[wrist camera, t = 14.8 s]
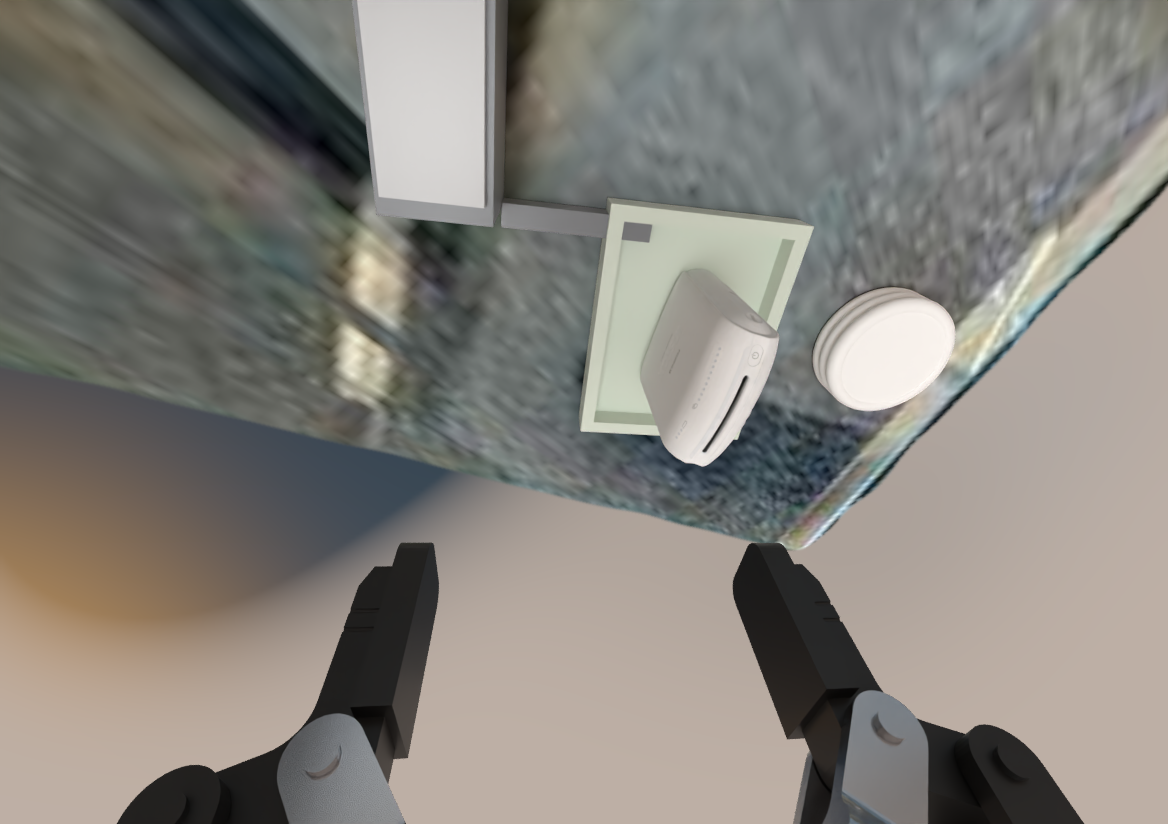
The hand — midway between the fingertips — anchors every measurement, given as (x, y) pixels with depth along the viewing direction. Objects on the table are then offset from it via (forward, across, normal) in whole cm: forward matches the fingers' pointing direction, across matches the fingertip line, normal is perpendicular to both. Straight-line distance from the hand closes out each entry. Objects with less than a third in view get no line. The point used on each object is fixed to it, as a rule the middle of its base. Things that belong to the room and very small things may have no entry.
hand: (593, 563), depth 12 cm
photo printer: (+26, -10, +5) cm, 29 cm away
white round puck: (+27, -27, +6) cm, 39 cm away
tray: (+27, -10, +5) cm, 29 cm away
